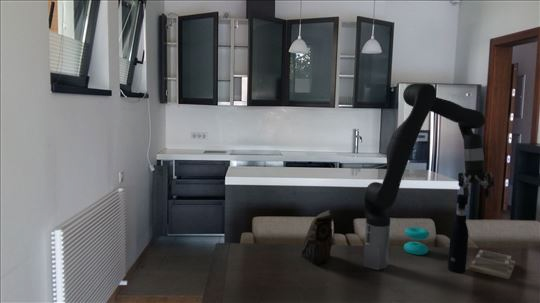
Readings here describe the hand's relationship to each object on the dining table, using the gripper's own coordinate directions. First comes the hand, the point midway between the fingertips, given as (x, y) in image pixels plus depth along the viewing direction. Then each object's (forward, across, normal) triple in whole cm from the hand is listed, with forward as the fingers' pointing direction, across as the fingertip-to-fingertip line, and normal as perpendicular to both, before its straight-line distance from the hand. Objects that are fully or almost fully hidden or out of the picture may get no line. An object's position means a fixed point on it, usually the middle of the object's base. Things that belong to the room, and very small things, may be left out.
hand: (476, 197), depth 181 cm
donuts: (+23, -20, -18) cm, 35 cm away
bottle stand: (+27, +8, -7) cm, 29 cm away
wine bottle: (+26, +1, -22) cm, 34 cm away
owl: (+19, -38, -60) cm, 73 cm away
